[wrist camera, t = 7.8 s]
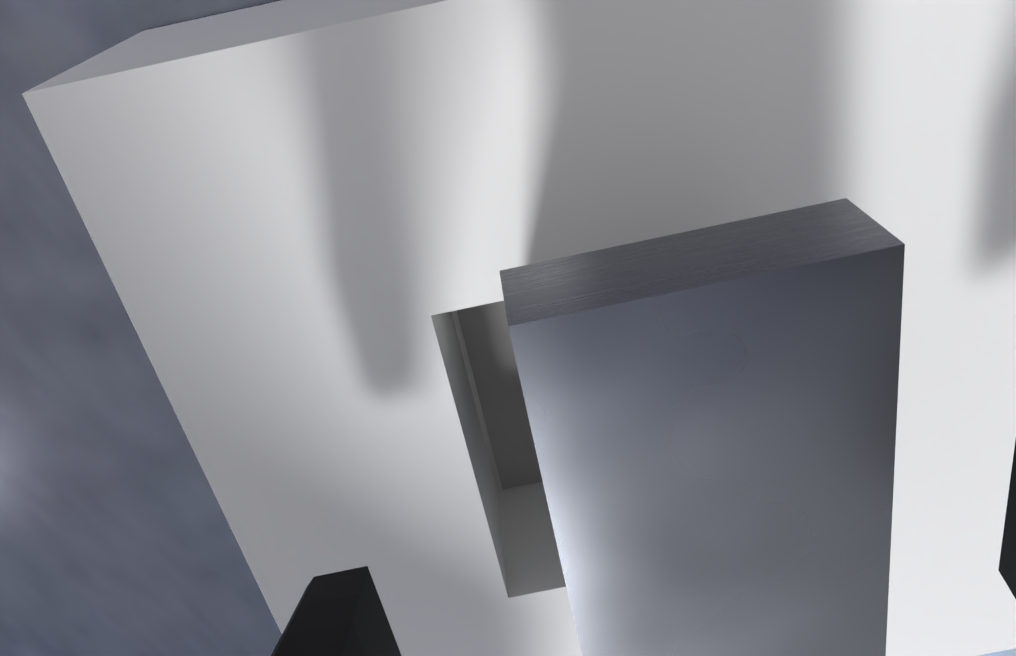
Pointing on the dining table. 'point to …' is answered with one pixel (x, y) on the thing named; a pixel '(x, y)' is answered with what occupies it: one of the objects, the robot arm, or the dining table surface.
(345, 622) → the robot arm
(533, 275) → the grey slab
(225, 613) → the dining table surface
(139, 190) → the well block
